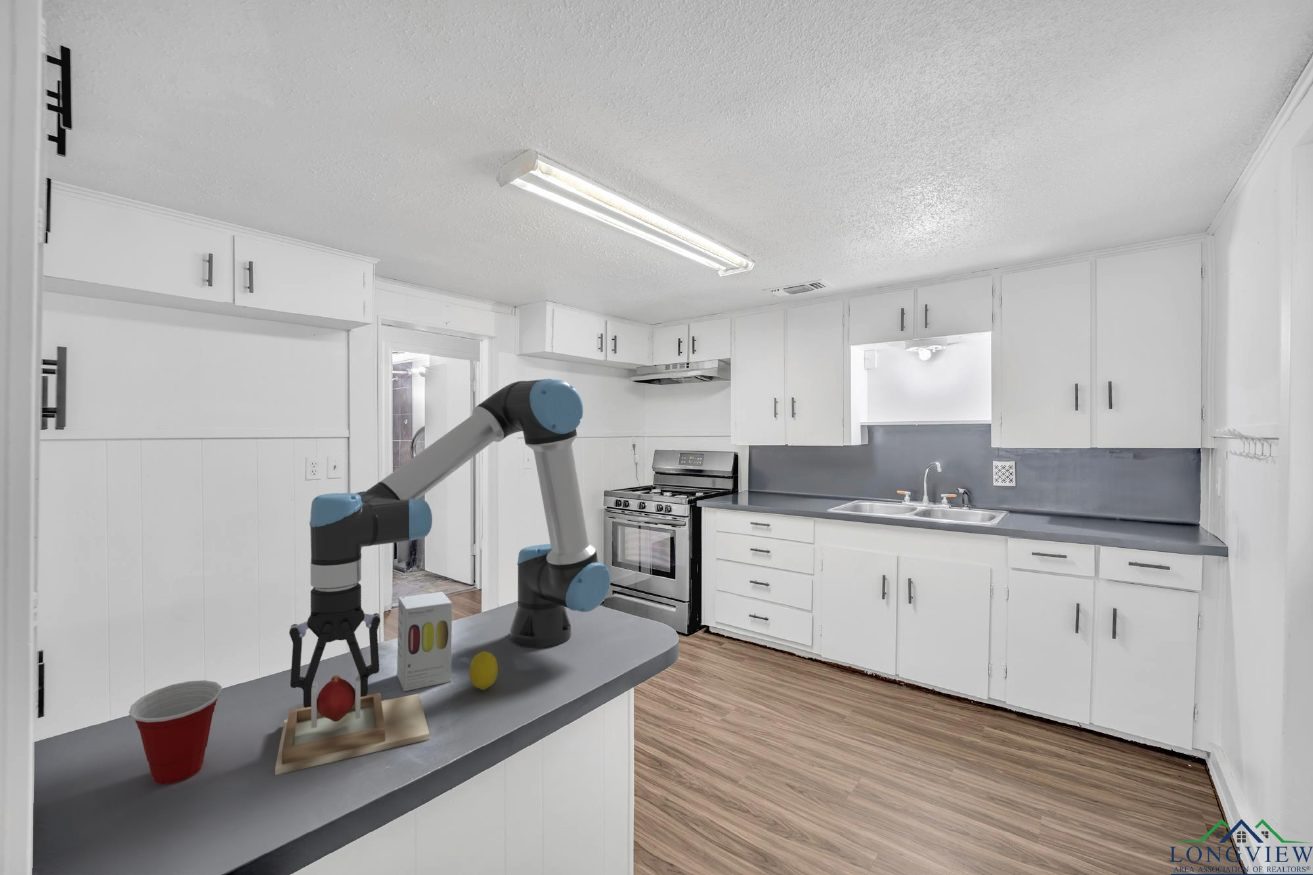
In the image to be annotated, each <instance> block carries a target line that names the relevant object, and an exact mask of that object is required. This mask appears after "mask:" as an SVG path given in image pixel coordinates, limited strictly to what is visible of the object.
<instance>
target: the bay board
mask: <svg viewBox="0 0 1313 875" xmlns="http://www.w3.org/2000/svg"><path fill="white" fill-rule="evenodd" d="M281 731H282V732H281V736H280V737H281V738H280V742H279V746H278V753H277V757H276V763H275V767H274V774H275V775H274V776H278V775H282V774H285V773H286V774H287V773H290V772H295V771H299V770H303V769H308V768H312V767H316V766H320V765H321V766H322V765H325V764H329V763H335V762H338V761H341V760H347V759H350V758H355V757H359V756H363V755H367V754H372V753H377V752H380V751H384V750H388V749H394V748H398V747H402V746H406V745H409V744H414V743H420V742H423V741H428V740H430V731H429V727H428V723H427V720H426V716H425V712H424V708H423V705H422V701H421V697H420V693H415V694H410V695H405V696H404V695H403V696H399V697H394V698H390V699H389V698H388V699H384V700H382V696H381V692H376V693H370V694H367V696H364V697H360V718H359V719H355V702H354V705H353V707H352V709H351V710H350V711H349V712H348V713H347V714H346V715H345V716H344V717H343V718H342V719H340V720H339V721H337V722H334V721H332V720H330V719H328V718H325V717H324V716H322V715H321V714H320V713H319V711H318V710H317V727H315V728H311V707H307V708H305V707H304V706H302V707H298V708H292V709H291V708H290V709H289V712H288V717H287V719H284V721H283V727H282V730H281Z"/></svg>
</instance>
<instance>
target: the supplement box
mask: <svg viewBox="0 0 1313 875" xmlns="http://www.w3.org/2000/svg"><path fill="white" fill-rule="evenodd" d="M397 605H398V607H397V608H398V609H397V610H398V615H397V653H396V654H397V656H396V658H397V659H396V660H397V662H396V663H397V664H396V665H397V666H396V668H397V669H396V676H397V678H398V681H399V683H400V685H401V687H402V688H401V689H402V691H403V692H407V691H413V690H419V689H421V688H426V687H432V686H436V685H441V684H445V683H450V682H451V680H452V674H451V673H452V636H453V635H452V634H453V630H452V629H453V628H452V627H453V602H452V600H450V598H449V597H448V596H447V595H446V594H445V593H444V592H443V591H438V592H430V593H422V594H415V595H414V594H413V595H407V596H398V604H397Z"/></svg>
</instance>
